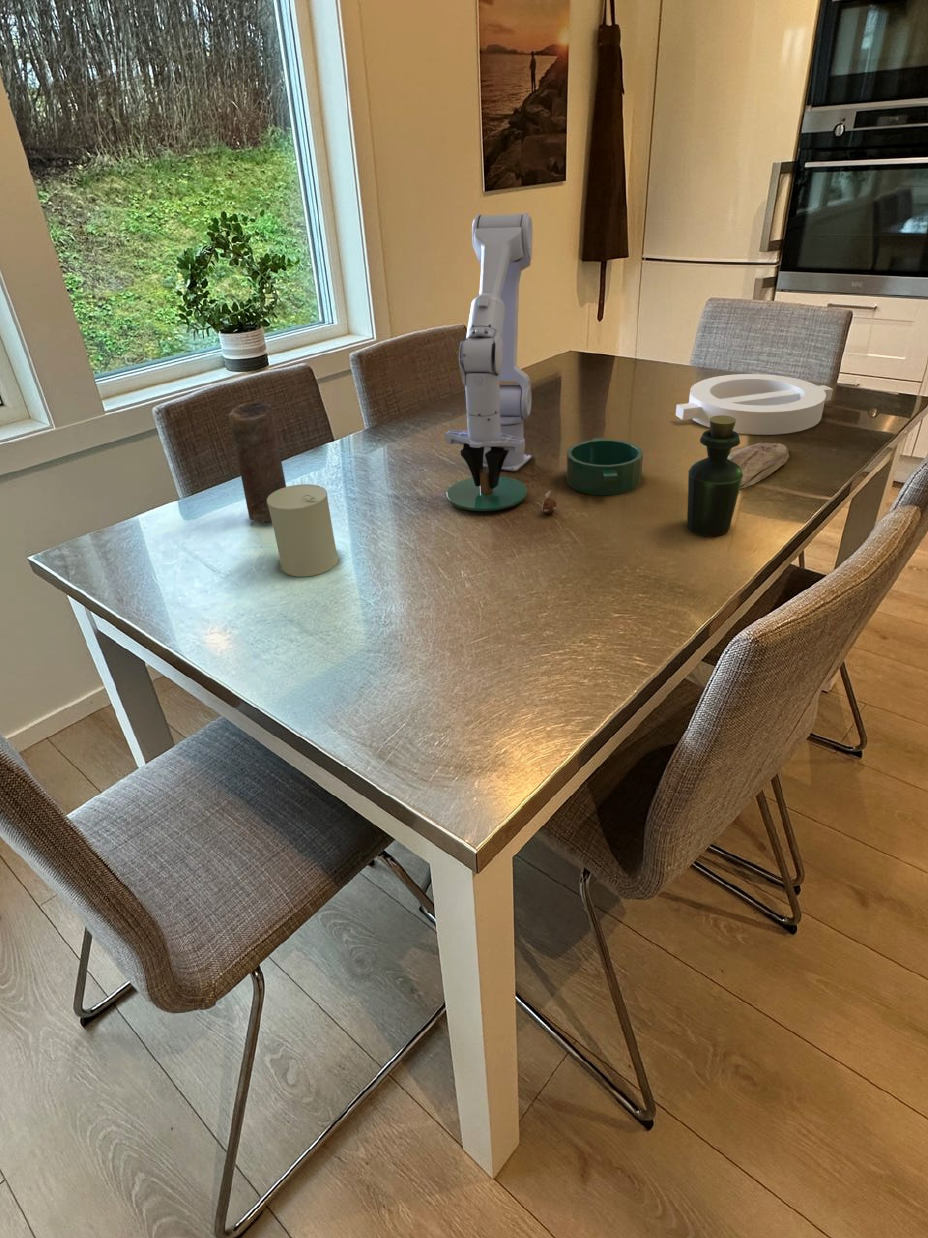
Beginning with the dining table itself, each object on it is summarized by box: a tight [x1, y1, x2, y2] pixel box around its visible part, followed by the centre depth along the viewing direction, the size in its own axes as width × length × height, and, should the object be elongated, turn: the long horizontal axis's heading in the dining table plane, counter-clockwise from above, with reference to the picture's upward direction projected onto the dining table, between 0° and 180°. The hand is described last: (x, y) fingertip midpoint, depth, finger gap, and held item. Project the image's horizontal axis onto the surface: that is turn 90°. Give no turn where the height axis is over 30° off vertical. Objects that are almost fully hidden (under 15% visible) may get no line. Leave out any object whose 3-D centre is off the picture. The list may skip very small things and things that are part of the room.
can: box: [267, 483, 340, 578], centre depth 115 cm, size 9×9×12 cm
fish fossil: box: [727, 442, 790, 490], centre depth 140 cm, size 26×10×1 cm, turn 143°
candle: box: [228, 401, 287, 524], centre depth 128 cm, size 8×7×20 cm
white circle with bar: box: [675, 373, 834, 436], centre depth 164 cm, size 28×28×5 cm
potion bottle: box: [686, 415, 743, 537], centre depth 116 cm, size 8×8×18 cm
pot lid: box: [446, 467, 528, 512], centre depth 133 cm, size 15×15×5 cm
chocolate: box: [541, 489, 557, 515], centre depth 127 cm, size 3×2×4 cm
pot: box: [566, 437, 644, 496], centre depth 138 cm, size 14×19×6 cm
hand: (486, 485), depth 134 cm, fingers closed on pot lid, 2 cm apart
